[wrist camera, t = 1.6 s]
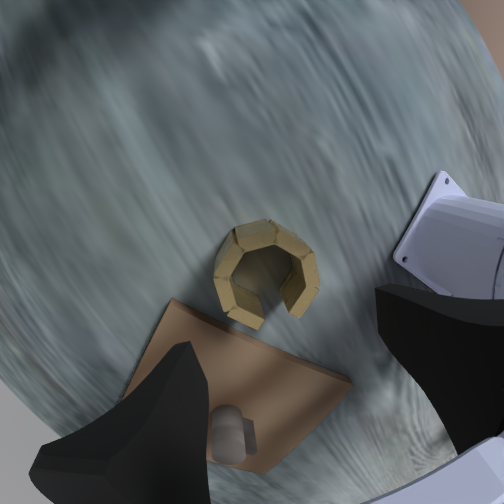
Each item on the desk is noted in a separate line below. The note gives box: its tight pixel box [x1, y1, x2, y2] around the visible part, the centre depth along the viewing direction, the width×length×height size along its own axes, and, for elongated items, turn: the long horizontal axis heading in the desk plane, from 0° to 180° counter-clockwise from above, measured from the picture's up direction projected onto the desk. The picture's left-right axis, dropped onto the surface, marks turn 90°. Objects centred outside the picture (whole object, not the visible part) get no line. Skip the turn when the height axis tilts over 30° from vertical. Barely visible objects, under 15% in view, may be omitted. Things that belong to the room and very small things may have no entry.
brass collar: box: [213, 219, 320, 330], centre depth 18 cm, size 6×6×4 cm
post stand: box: [121, 298, 354, 474], centre depth 20 cm, size 16×14×6 cm
